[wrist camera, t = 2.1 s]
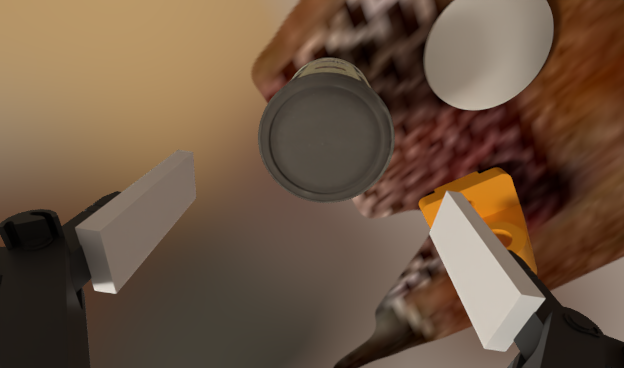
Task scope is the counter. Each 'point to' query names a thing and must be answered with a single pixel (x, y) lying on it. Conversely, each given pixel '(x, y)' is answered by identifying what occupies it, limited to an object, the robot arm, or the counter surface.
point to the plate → (486, 50)
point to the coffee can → (326, 133)
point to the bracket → (489, 208)
